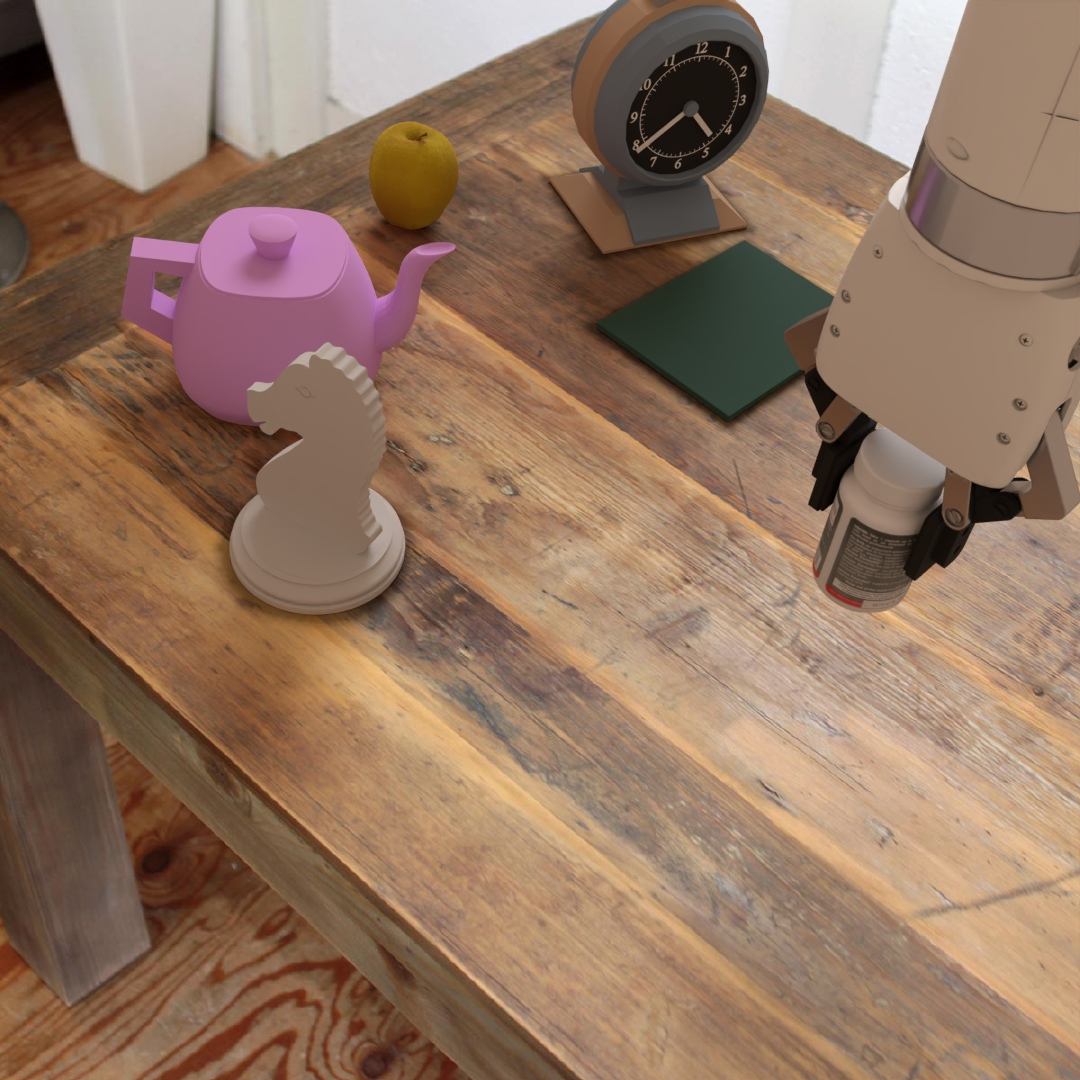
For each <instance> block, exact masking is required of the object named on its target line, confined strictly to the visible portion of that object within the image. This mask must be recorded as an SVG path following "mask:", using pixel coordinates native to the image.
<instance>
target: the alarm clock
mask: <svg viewBox="0 0 1080 1080" xmlns="http://www.w3.org/2000/svg"><path fill="white" fill-rule="evenodd" d="M573 66H574V67H573V71H572V74H571V83H570V84H571V87H570V89H571V92H570V93H571V97H570V98H571V103H572V116H573V120H574V122H575V126H576V129H577V133H578V135H579V136H580V137H581V139H582V140H583V142H584V143H585V144H586V146H587V148H588V149H589V150H590V151H591V152H592V154H593V155H594V157H595V158H596V159H597V160H598V161H599V163H601V164H598V165H592V166H586V167H580V168H578V173H573V174H567V175H560V176H553V177H549V183H550V184H551V185H552V187H553V188H554V190H555V191H556V192H557V194H558V195H559V196H560V198H561V199H562V200H563V202H564V203H565V204H566V206H567V207H568V208H569V210H570V211H571V213H572V214H573V215H574V217H575V218H576V219H577V221H578V222H579V224H580V225H581V226H582V228H583V229H584V230H585V232H586V233H587V235H589V237H590V238H591V240H592V241H593V243H594V244H595V246H597V248H598V249H599V250H600V252H601V254H603V255H606V254H611V253H617V252H623V251H627V250H634V249H638V248H639V249H640V248H644V247H650V246H654V245H655V246H656V245H659V244H665V243H670V242H671V243H672V242H676V241H681V240H687V239H693V238H698V237H704V236H709V235H713V234H718V233H724V232H729V231H736V230H741V229H746V228H748V227H749V225H748V223H747V222H746V221H745V219H744V218H743V217H742V216H741V215H740V214H739V212H738V211H737V210H736V209H735V208H734V207H733V206H732V205H731V204H730V202H729V201H728V199H726V198H725V196H724V195H723V194H722V193H721V192H720V191H719V189H718V188H717V187H716V186H715V185H714V184H713V182H712V181H711V180H710V179H709V177H708V176H707V175H708V174H709V173H712V172H713V171H715V170H717V169H718V168H719V167H721V165H724V163H725V162H727V161H728V160H729V159H730V158H732V157H733V156H734V155H735V154H736V152H737V151H738V150H740V148H741V147H742V146H743V145H744V144H745V142H746V141H747V140H748V139H749V137H750V136H751V133H752V132H753V131H754V129H755V128H756V125H757V124H758V122H759V120H760V118H761V115H762V112H763V110H764V107H765V104H766V101H767V96H768V87H769V77H770V67H769V61H768V53H767V49H766V48H765V42H764V35H763V34H762V31H761V30H760V27H759V25H758V24H757V22H756V20H755V17H753V15H751V14H750V12H748V11H747V9H745V8H744V7H743V6H742V4H740V3H739V2H738V1H737V0H615V1H614V2H612V4H610V5H609V6H608V7H606V9H604V10H603V11H602V13H601V14H599V16H598V17H597V19H596V20H595V21H594V23H593V24H592V25H591V27H590V28H589V29H588V31H587V33H586V34H585V37H584V39H583V41H582V43H581V44H580V46H579V49H578V50H577V55H576V59H575V62H574V65H573Z"/></svg>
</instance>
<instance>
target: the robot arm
mask: <svg viewBox="0 0 1080 1080" xmlns="http://www.w3.org/2000/svg"><path fill="white" fill-rule="evenodd" d="M945 65H946V66H945V68H944V71H943V74H942V78H941V80H940V84H939V87H938V90H937V93H936V95H935V99H934V102H933V105H932V108H931V112H930V114H929V117H928V121H927V123H926V125H925V127H924V131H923V134H922V137H921V140H920V142H919V146H918V150H917V152H916V155H915V158H914V161H913V165H912V167H911V169H910V170H909V171H907V172H906V173H905V174H904V175H903V176H901V177H900V178H899V179H897V180H896V181H895V182H894V183H893V184H892V186H891V187H890V189H889V191H888V192H887V193H886V195H885V197H884V198H883V200H882V201H881V202H880V204H879V206H878V208H877V209H876V211H875V213H874V215H873V216H872V218H871V220H870V221H869V223H868V225H867V227H866V229H865V231H864V233H863V235H862V237H861V239H860V241H859V242H858V244H857V246H856V248H855V250H854V252H853V254H852V256H851V258H850V260H849V262H848V264H847V266H846V268H845V271H844V272H843V275H842V277H841V279H840V282H839V284H838V286H837V289H836V292H835V294H834V295H833V296H834V299H833V301H832V304H831V306H828V307H826V308H824V309H822V310H820V311H818V312H816V313H814V314H812V315H810V316H807V317H805V318H803V319H802V320H800V321H799V322H797V323H796V324H794V325H793V326H791V327H790V328H788V329H787V330H786V331H785V333H784V339H785V341H786V343H787V345H788V347H789V349H790V351H791V352H792V354H793V356H794V358H795V360H796V361H797V363H798V365H799V367H800V369H801V370H803V369H804V371H803V372H804V373H805V375H804V384H805V386H806V387H805V388H806V389H807V391H808V393H809V396H810V398H811V401H812V403H813V405H814V407H815V410H816V412H817V414H818V417H819V418H818V419H817V420H816V423H815V432H816V434H817V436H818V437H819V438H820V439H821V440H822V441H821V443H820V446H819V449H818V452H817V456H816V458H815V461H814V465H813V467H812V470H811V476H812V477H813V478H815V481H814V485H813V487H812V491H811V493H810V497H809V500H808V503H807V505H808V506H809V507H810V508H812V509H813V510H815V511H816V512H819V511H820V512H824V511H825V510H827V509H828V508H830V507H831V506H832V505H833V502H834V499H835V496H836V493H837V490H838V487H839V484H840V481H841V479H842V477H843V475H844V473H845V471H846V470H847V469H848V468H849V467H850V466H851V465H852V464H853V463H854V462H855V458H856V456H857V454H858V452H859V450H860V447H861V445H862V443H863V441H864V439H865V438H866V437H867V436H868V435H869V434H870V433H872V432H873V431H875V430H877V429H876V428H877V425H878V423H879V424H880V425H881V426H883V427H884V428H885V427H886V428H887V429H889V430H890V431H892V432H893V433H895V434H896V435H898V436H899V437H901V438H902V439H904V440H906V441H907V442H909V443H910V444H912V445H913V446H915V447H916V448H918V449H919V450H921V451H922V452H924V453H925V454H927V455H928V456H930V457H931V458H933V459H935V460H936V461H938V462H939V463H941V464H942V465H944V466H946V473H945V483H944V488H943V503H941V504H940V505H939V506H938V507H937V508H935V509H934V510H933V511H932V512H931V513H930V514H929V515H928V516H927V517H926V518H925V520H924V522H923V525H922V527H921V529H920V531H919V534H918V536H917V538H916V541H915V543H914V545H913V547H912V550H911V552H910V554H909V557H908V559H907V561H906V563H905V566H904V568H903V570H905V571H906V572H905V575H906V576H908V577H909V578H911V579H912V580H913V581H914V582H916V581H917V580H918V579H920V578H921V577H922V576H923V575H924V574H925V573H927V572H928V571H929V570H930V569H931V568H932V567H933V566H934V565H935V564H937V565H938V566H940V567H941V568H942V569H946V568H948V567H949V566H950V565H951V564H952V563H953V562H954V561H955V560H956V559H957V558H958V557H959V556H960V554H961V552H963V549H964V548H965V546H966V544H967V542H968V540H969V537H970V536H971V533H972V531H973V529H974V527H975V526H976V524H983V523H984V524H985V523H994V522H995V523H996V522H1006V521H1011V520H1013V519H1014V518H1024V519H1025V520H1043V521H1044V520H1046V521H1062V520H1064V518H1065V517H1066V516H1068V515H1069V514H1070V513H1071V512H1072V511H1073V510H1074V509H1075V508H1076V507H1078V506H1079V504H1080V488H1079V484H1078V479H1077V477H1076V472H1075V468H1074V465H1073V462H1072V457H1071V453H1070V449H1069V446H1068V442H1067V438H1066V435H1065V432H1066V430H1067V428H1068V426H1069V424H1070V423H1071V421H1072V419H1073V416H1074V414H1075V412H1076V410H1077V407H1078V405H1079V403H1080V0H967V2H966V5H965V7H964V10H963V14H962V17H961V19H960V23H959V25H958V28H957V32H956V34H955V37H954V41H953V44H952V46H951V49H950V53H949V56H948V59H947V62H946V64H945ZM1025 465H1026V466H1027V471H1028V475H1029V478H1030V480H1029V479H1027V478H1025V477H1022V476H1017V474H1018V472H1019V471H1021V470H1023V468H1024V467H1025ZM1015 476H1017V477H1015ZM913 581H912V582H913Z"/></svg>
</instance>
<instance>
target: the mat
mask: <svg viewBox="0 0 1080 1080" xmlns="http://www.w3.org/2000/svg"><path fill="white" fill-rule="evenodd" d="M834 296H835V295H832V294H831V293H829V292H828V291H827V290H825V289H823V288H822V287H820V286H819V285H816V284H815V283H813V282H812V281H811V280H809V279H808V278H806V277H805V276H803V275H801V274H799V273H798V272H796V271H795V270H793V269H792V268H790V267H788V266H787V265H785V264H783V263H782V262H781V261H779V260H778V259H776V258H774V257H772V256H771V255H769V254H768V253H766V252H764V251H763V250H761V249H760V248H758V247H757V246H755V245H754V244H752V243H751V242H749V241H747V240H746V239H744V240H742V241H740V242H738V243H736V244H734V245H733V246H731V247H729V248H727V249H725V250H724V251H722V252H720V253H718V254H717V255H715V256H713V257H711V258H709V259H707V260H706V261H704V262H702V263H700V264H698V265H697V266H695V267H693V268H691V269H690V270H688V271H687V272H684V273H683V274H681V275H679V276H677V277H676V278H674V279H672V280H670V281H668V282H667V283H665V284H663V285H661V286H660V287H658V288H655V289H654V290H652V291H650V292H649V293H647V294H645V295H644V296H642V297H640V298H638V299H636V300H635V301H632V302H631V303H629V304H627V305H626V306H624V307H622V308H620V309H619V310H617V311H614V312H613V313H611V314H610V315H608V316H606V317H604V318H602V319H600V320H599V321H597V322H596V326H595V328H596V329H597V330H599V331H600V332H601V333H603V334H604V335H606V336H607V337H608V338H610V340H612V341H614V342H616V343H617V344H618V345H619V346H621V347H622V348H624V349H625V350H627V351H628V352H629V353H631V354H632V355H633V356H634V357H636V358H638V359H639V360H641V361H642V362H644V363H645V364H646V365H647V366H649V367H651V369H653V370H654V371H656V372H657V373H658V374H660V375H662V376H663V377H664V378H665V379H667V380H668V381H670V382H671V383H673V384H674V385H675V386H677V387H678V388H679V389H681V390H683V391H684V392H685V393H687V394H688V395H689V396H691V397H692V398H693V399H695V400H697V401H698V402H699V403H700V404H702V405H703V406H705V407H707V409H709V410H711V411H712V412H713V413H715V414H716V415H717V416H718V417H720V418H721V419H723V420H724V421H726V422H730V421H731V420H733V419H734V418H736V417H738V415H740V414H742V413H743V412H744V411H746V410H748V409H749V408H751V407H752V406H754V405H755V404H756V403H758V402H760V401H761V400H762V399H764V398H766V397H767V396H769V395H770V394H772V393H774V392H775V391H777V390H778V389H779V388H781V387H783V386H784V385H785V384H787V383H789V381H791V380H793V379H794V378H795V377H797V376H799V375H801V374H802V373H804V372H805V371H804V369H803V370H801V369H800V367H799V365H798V363H797V361H796V360H795V358H794V356H793V354H792V352H791V351H790V349H789V347H788V345H787V343H786V341H785V339H784V333H785V331H786V330H787V329H788V328H790V327H791V326H793V325H794V324H796V323H797V322H799V321H800V320H802V319H803V318H805V317H807V316H810V315H812V314H814V313H816V312H818V311H820V310H822V309H824V308H826V307H828V306H831V304H832V301H833V299H834Z"/></svg>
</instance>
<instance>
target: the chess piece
mask: <svg viewBox="0 0 1080 1080" xmlns="http://www.w3.org/2000/svg"><path fill="white" fill-rule="evenodd" d="M247 395H248V398H247V408H248V413H249V415H250V417H251V419H252V420H253V421H254V422H263V423H261V424H260V425H259V426H258V427H259V429H260V430H261V431H262V433H264V434H266V435H268V436H273V434H275V433H276V432H277V431H279V430H280V429H284V430H286V431H288V432H295V433H297V434H298V435H299V436H301V437H302V438H301V439H299V440H298V441H295V442H293V443H292V444H290V445H288V446H287V447H285V448H284V449H282V450H281V451H279V453H277V454H276V455H274V456H273V457H272V458H271V459H270V460H269V461H268V462H267V463H265V464H264V466H262V467H261V468H260V469H259V470H258V472H257V474H256V478H255V487H256V490H257V494H256V495H255V496H254V497H252V498H251V499H250V500H249V501H248V502H246V504H245V505H244V506H243V508H242V509H241V510H240V512H239V513H238V515H237V516H236V518H235V520H234V523H233V525H232V530H231V533H230V537H229V547H228V548H229V549H228V550H229V559H230V562H231V566H232V569H233V571H234V574H235V575H236V577H237V579H238V580H239V581H240V583H241V584H242V586H243V587H244V588H245V589H246V590H247V591H248V592H249V593H251V594H252V595H253V596H255V597H256V598H257V599H259V600H260V601H262V602H263V603H265V604H267V605H269V606H271V607H274V608H276V609H279V610H282V611H284V612H289V613H295V614H302V615H314V616H315V615H316V616H317V615H320V616H321V615H331V614H336V613H341V612H345V611H350V610H352V609H355V608H358V607H360V606H363V605H365V604H367V603H369V602H370V601H372V600H374V599H376V597H378V596H379V595H381V594H383V592H384V591H385V590H386V589H387V588H389V587H390V585H391V584H392V583H393V582H394V580H395V579H396V578H397V576H398V575H399V572H400V571H401V569H402V566H403V563H404V560H405V555H406V536H405V532H404V528H403V525H402V523H401V519H400V517H399V515H398V513H397V512H396V510H395V509H394V508H393V506H392V505H391V504H390V502H388V500H387V499H385V497H383V496H382V495H381V494H380V493H378V492H377V491H376V490H374V489H372V488H371V486H372V480H373V477H374V475H375V474H376V473H377V472H378V470H379V469H378V468H379V467H380V464H381V461H382V460H383V459H384V456H383V455H384V453H386V451H387V450H388V449H387V445H386V443H387V441H388V439H387V436H386V435H387V429H386V426H385V425H386V423H387V418H386V417H385V415H384V405H383V403H382V402H381V400H380V396H381V394H380V392H379V391H378V390H377V389H376V388H375V382H374V381H372V380H371V379H370V378H369V377H368V374H367V369H366V368H365V367H363V366H361V365H360V364H359V363H358V362H357V360H356V359H355V358H354V357H352V356H349V355H347V354H346V352H345V350H344V349H343V348H342V347H335V346H333V345H332V344H331V343H329V342H327V343H325V344H324V345H323V346H321V347H320V348H319V349H318V350H317V351H316V352H305V353H303V354H302V355H300V356H299V357H298V358H296V359H295V360H294V361H293V362H292V363H291V364H290V365H289V366H288V367H286V368H285V369H284V370H283V371H282V373H281V374H280V375H279V377H278V378H277V379H276V380H275V382H272V383H263V382H255V383H254V384H253V385H252V386H251V387H250V388H249V389H247Z"/></svg>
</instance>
